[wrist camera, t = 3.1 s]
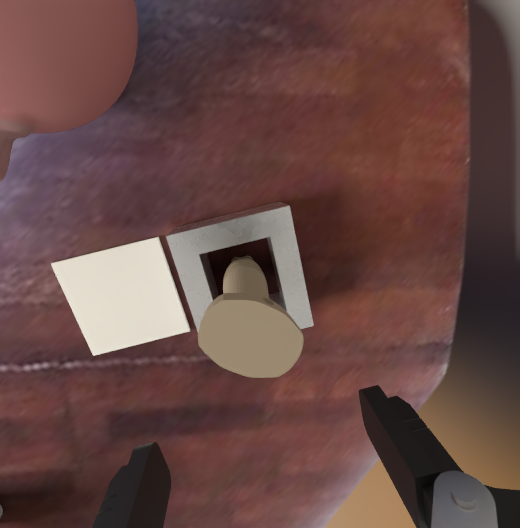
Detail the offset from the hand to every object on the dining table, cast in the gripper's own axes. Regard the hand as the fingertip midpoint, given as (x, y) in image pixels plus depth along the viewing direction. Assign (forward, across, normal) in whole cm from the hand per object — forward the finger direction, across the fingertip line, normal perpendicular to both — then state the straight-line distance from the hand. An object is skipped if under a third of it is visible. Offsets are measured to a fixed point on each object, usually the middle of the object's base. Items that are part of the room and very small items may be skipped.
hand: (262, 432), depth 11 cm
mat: (+22, +13, 0) cm, 25 cm away
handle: (+22, 0, 0) cm, 22 cm away
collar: (+22, 0, 0) cm, 22 cm away
